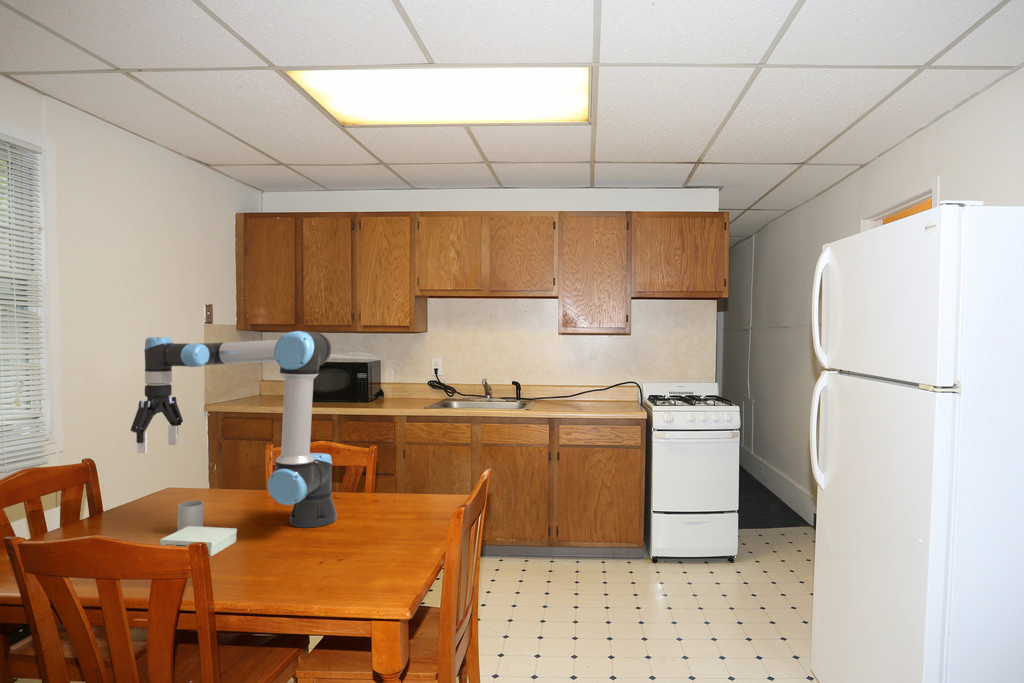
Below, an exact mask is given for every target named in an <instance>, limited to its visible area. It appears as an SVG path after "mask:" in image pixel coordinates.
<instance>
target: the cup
mask: <svg viewBox="0 0 1024 683" xmlns="http://www.w3.org/2000/svg"><path fill="white" fill-rule="evenodd" d="M176 518H177V523H176V524H177V528H176V532H177V531H179V530H181V529H183V528H185V527H188V526H198V527H204V501H202V500H190V501H188V500H187V501H185V502H181V503H179V504H177V517H176Z"/></svg>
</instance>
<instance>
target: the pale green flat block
mask: <svg viewBox="0 0 1024 683" xmlns="http://www.w3.org/2000/svg"><path fill="white" fill-rule="evenodd" d="M237 532H238V528H233V527H213V526H203V527H198V526H188V527H185V528H183V529H181V530H179V531H177V530H176V532H173V533H171V534H169V535H166V536H164V537H163V538H161V539H160V540H159V542H160V543H159V544H160V546H161V545H176V546H180V547H182V546H189V545H188V544H190V543H193V542H204V543H206V544H207V546H208V550H209V555H210V556H209V557H212V556H215V555H216V554H218V553H220V552H221V551H222V550H225V549H226V548H228V547H230V546H231V545H233V544H235V543H236V542H237Z"/></svg>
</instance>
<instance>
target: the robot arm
mask: <svg viewBox="0 0 1024 683" xmlns="http://www.w3.org/2000/svg"><path fill="white" fill-rule="evenodd" d="M331 355H332V344H331V341H330V340H329V338H328V337H327V336H326V335H325V334H323V333H321V332H318V331H303V330H302V331H301V330H295V331H289V332H287V333H285V334H283V335H281V337H280V338H278V339H269V340H267V339H265V340H249V341H230V342H229V341H227V342H206V343H203V342H202V343H200V342H199V343H197V342H196V343H195V342H194V343H193V342H191V343H188V342H187V343H185V342H184V343H174V342H173V340H172V338H171V337H168V336H167V337H164V336H163V337H160V336H159V337H158V336H157V337H155V336H149V337H146V339H145V343H144V366H145V367H144V383H145V384H146V385H145V386H144V396H145V397H146V400H139V402H138V407H137V411H136V414H135V416H134V419H133V422H132V425H131V426H130V432H132V433H136V440H135V441H136V444H137V446H136V449H137V450H136V452H137V454H148V432H146V430H147V428H148V427H149V425H150V423H151V422H152V420H153V418H154V416H156V415H157V414H160V413H162V414H163V415H164V417H165V419H166V421H167V422H168V423H169V425H168V426H167V427H168V428H167V429H168V433H167V434H168V436H167V437H168V439H167V440H168V442H167V443H168V444H167V445H168V446H178V434H179V426H181V425H182V423H183V421H184V419H183V417H182V414H181V411H180V409H179V405H178V403H177V397H175V396H172V394H173V393H172V392H173V391H172V389H173V388H172V386H173V385H172V384H171V383H172V382H173V376H172V375H173V370H172V368H173V367H189V368H195V367H196V368H197V367H203V366H210V365H211V366H213V365H215V366H217V365H218V366H219V365H231V364H253V363H254V364H260V363H277V364H278V366H279V374H280V375H281V376H282V377H283V379H284V388H283V408H282V423H281V424H282V428H281V446H280V448H281V449H280V455H279V456H277V458H275V462H274V466H275V467H274V471H273V472H272V474H271V475H270V476H269V477H268V480H267V491H268V494H269V495H270V497H271V498H272V499H273V500H274V502H276V503H278V504H281V505H284V506H293V507H292V509H291V512H290V516H289V524H290V525H291V526H293V527H295V528H303V529H304V528H306V529H307V528H317V527H322V526H328V525H331V524H333V523H334V522H336V521H337V509H336V507H335V504H334V501H333V497H332V487H333V486H332V485H333V484H332V483H333V482H332V481H333V480H332V477H333V474H332V473H333V471H332V470H333V460H332V456H331V454H329V453H323V452H311V436H312V418H313V417H312V416H313V414H312V413H313V398H314V396H313V395H314V393H313V392H314V379H316V378H317V376H318V375H319V372H320V366H322V365H323V364H325V363H327V361H328V360H329V358H330V357H331Z"/></svg>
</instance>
